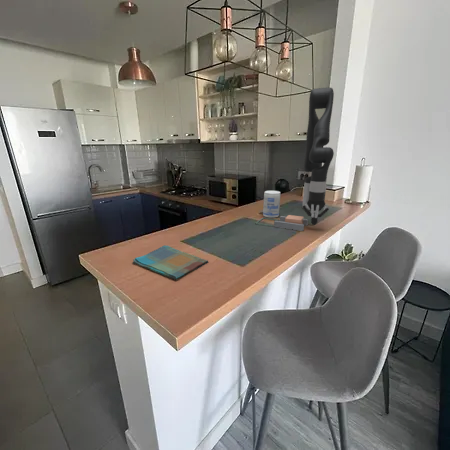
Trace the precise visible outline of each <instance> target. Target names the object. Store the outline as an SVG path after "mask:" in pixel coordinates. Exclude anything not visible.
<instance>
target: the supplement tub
mask: <svg viewBox="0 0 450 450" xmlns="http://www.w3.org/2000/svg"><path fill="white" fill-rule="evenodd" d="M280 205H281V191H279V190H265V191H264V194H263V207H262V209H263V210H262V211H263V212H262V215H263V217H264V218H270V219H276V218H278V217H280Z"/></svg>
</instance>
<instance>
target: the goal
mask: <svg viewBox="0 0 450 450" xmlns="http://www.w3.org/2000/svg"><path fill="white" fill-rule="evenodd" d="M263 220H270V221H280V219H276V218H268V217H262V218H259V220H257V221H256V222H255V225H260V226H266V227H274V224H266V223H260V222H261V221H263Z"/></svg>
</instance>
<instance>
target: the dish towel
mask: <svg viewBox="0 0 450 450" xmlns="http://www.w3.org/2000/svg"><path fill="white" fill-rule="evenodd" d="M208 263H209V260H208V259H205V258H201V257H199V256H196V255H193V254H191V253H188V252H185V251H181V250H180V249H179V250H178V249H176V248H174V247H173V246H170V245H162V246H160V247H159V248H157V249H154V250H152V251H150V252H148V253H147V254H144V255H141V256H138V257H134V259H132V264H134V265H136V266H139V267H141V268H145V269H147V270H150V271H153V272H155V273H156V274H158V275H161V276H164V277H166V278H169V279H172V280H174V281H176V282H177V281H179V280H181V279H183V278H184V277H186V276H188V275H190V274H191V273H193V272H195V271H197V270H198V269H200V268H202V267H204V266H205V265H207V264H208Z"/></svg>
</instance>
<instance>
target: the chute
mask: <svg viewBox="0 0 450 450" xmlns="http://www.w3.org/2000/svg"><path fill="white" fill-rule="evenodd" d="M286 217H287V216H284V215H279V220H280V221H276V220H273V227H274V228H280V229H285V228H286V230H292V229H293V231H294V230H295V231H300V232H304V230H305V226H308V225H309V219H307V218H303V224H296V223H289V222H285V218H286Z"/></svg>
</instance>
